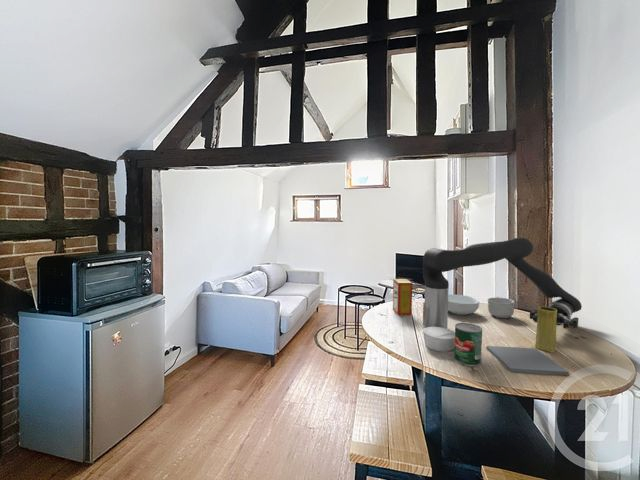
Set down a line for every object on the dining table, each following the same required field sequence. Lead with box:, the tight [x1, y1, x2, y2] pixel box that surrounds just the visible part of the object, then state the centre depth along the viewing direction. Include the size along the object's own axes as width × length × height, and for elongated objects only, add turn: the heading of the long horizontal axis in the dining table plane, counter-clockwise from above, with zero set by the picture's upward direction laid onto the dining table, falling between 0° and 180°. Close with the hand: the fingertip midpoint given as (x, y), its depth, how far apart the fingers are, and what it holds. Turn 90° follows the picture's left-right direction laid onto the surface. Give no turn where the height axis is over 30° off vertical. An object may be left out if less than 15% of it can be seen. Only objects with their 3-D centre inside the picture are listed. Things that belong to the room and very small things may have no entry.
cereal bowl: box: [448, 293, 480, 316], centre depth 144 cm, size 17×17×7 cm
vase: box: [534, 306, 557, 353], centre depth 103 cm, size 6×6×14 cm
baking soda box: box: [392, 278, 413, 316], centre depth 144 cm, size 10×6×16 cm
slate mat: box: [486, 345, 570, 376], centre depth 94 cm, size 16×16×1 cm
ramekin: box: [422, 327, 455, 352], centre depth 105 cm, size 11×11×5 cm
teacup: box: [486, 296, 515, 319], centre depth 140 cm, size 14×11×8 cm
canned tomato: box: [453, 322, 484, 367], centre depth 94 cm, size 8×8×11 cm
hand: (549, 322), depth 107 cm, fingers open, 8 cm apart
